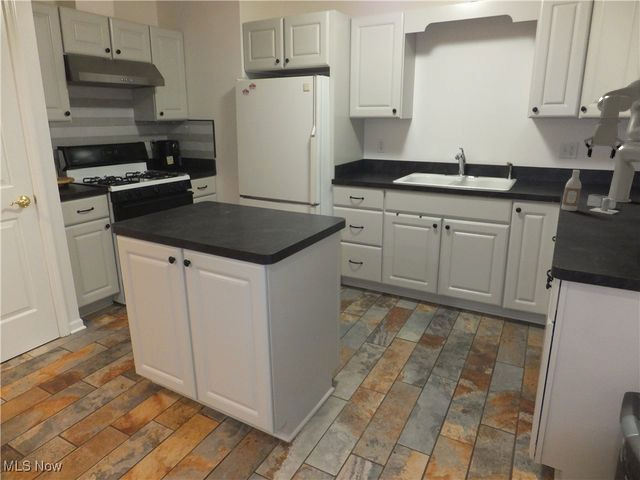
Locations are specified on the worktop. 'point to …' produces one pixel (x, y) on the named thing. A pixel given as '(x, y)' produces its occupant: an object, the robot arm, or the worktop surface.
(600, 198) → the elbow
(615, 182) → the robot arm
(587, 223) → the worktop surface
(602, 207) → the duct stub
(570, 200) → the bath foam
